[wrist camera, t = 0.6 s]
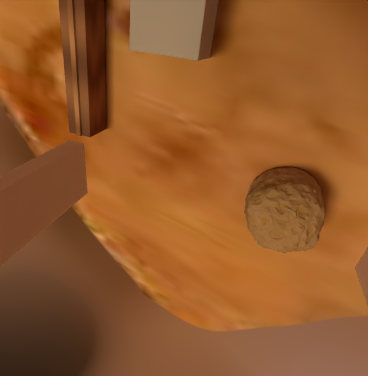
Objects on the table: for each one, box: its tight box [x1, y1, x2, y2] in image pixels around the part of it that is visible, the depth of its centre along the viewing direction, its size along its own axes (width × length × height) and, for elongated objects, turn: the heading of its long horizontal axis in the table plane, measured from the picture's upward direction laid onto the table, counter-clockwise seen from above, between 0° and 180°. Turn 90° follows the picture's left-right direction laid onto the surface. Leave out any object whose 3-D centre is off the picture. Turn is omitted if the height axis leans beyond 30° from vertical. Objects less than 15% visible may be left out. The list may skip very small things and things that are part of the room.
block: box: [130, 0, 219, 60], centre depth 27 cm, size 8×7×6 cm
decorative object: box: [244, 167, 325, 253], centre depth 33 cm, size 9×10×10 cm
